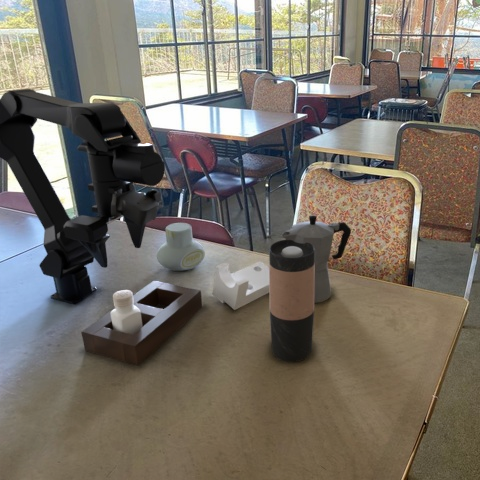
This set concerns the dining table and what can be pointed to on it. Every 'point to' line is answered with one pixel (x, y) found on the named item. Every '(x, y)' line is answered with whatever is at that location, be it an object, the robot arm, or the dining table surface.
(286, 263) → the travel mug
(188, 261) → the air freshener
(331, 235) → the coffeepot
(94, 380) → the dining table surface
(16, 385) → the dining table surface
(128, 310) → the salt shaker
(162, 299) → the stand
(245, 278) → the bracket
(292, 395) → the dining table surface
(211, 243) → the dining table surface
